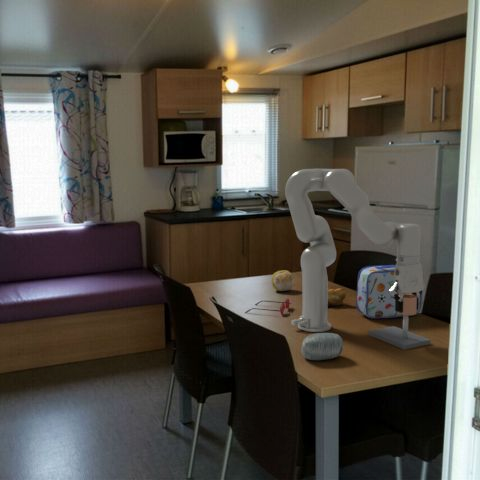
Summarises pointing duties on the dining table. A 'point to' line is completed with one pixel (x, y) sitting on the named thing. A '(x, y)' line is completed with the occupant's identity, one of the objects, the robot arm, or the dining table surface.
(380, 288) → the lunch box
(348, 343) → the dining table surface
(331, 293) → the bread roll
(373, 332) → the grey peg stand
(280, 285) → the fruit
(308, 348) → the grey yarn ball
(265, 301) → the glasses
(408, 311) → the bead
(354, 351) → the dining table surface
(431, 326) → the dining table surface
